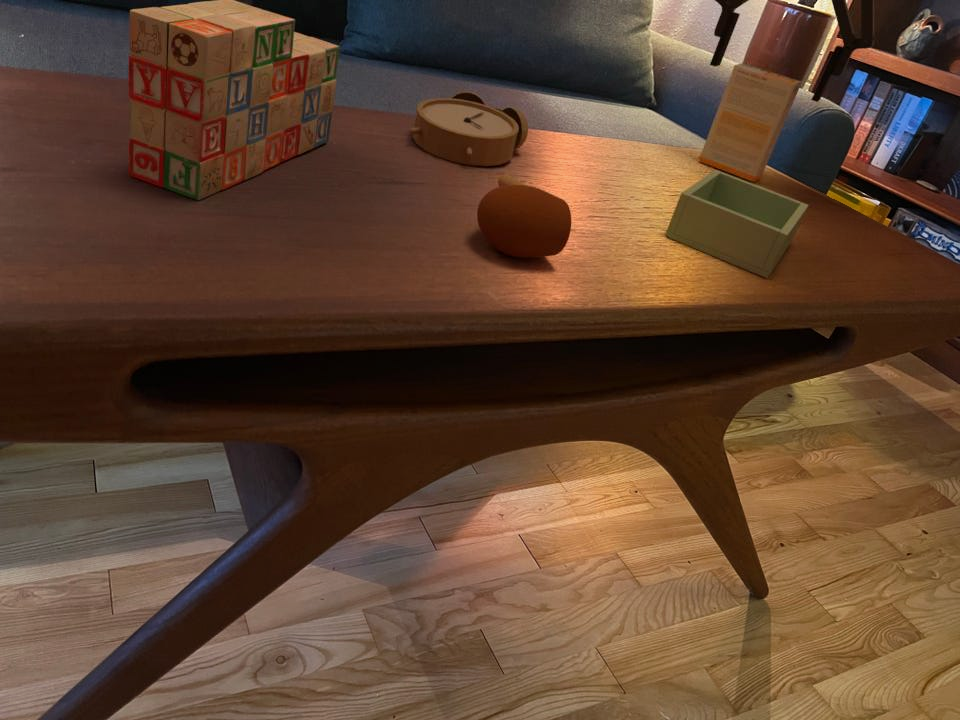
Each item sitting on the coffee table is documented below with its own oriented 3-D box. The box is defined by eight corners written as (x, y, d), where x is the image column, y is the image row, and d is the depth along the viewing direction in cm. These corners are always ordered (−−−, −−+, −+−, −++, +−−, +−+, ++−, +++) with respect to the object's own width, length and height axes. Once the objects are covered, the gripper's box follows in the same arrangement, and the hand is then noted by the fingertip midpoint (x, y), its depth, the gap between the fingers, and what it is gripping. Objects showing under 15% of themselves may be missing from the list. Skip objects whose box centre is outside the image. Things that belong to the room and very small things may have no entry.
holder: (790, 244, 85) (809, 204, 83) (766, 278, 74) (787, 234, 72) (699, 207, 88) (715, 169, 86) (664, 236, 77) (681, 192, 75)
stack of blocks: (273, 124, 78) (286, -8, 72) (329, 143, 77) (347, 11, 71) (127, 176, 60) (127, 5, 53) (198, 202, 59) (207, 32, 53)
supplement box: (761, 178, 107) (804, 81, 100) (753, 183, 103) (797, 84, 97) (706, 156, 110) (744, 61, 103) (696, 161, 106) (734, 63, 99)
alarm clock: (394, 111, 81) (466, 73, 92) (391, 154, 84) (460, 113, 95) (488, 148, 78) (551, 105, 89) (480, 191, 81) (542, 145, 92)
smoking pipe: (476, 261, 62) (493, 193, 59) (454, 178, 77) (467, 120, 74) (561, 275, 63) (582, 209, 60) (523, 191, 79) (538, 135, 76)
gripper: (733, -135, 90) (667, 52, 102) (955, -78, 83) (857, 118, 94) (747, -127, 96) (682, 50, 107) (954, -72, 89) (862, 111, 100)
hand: (764, 82), depth 101 cm, fingers open, 13 cm apart
